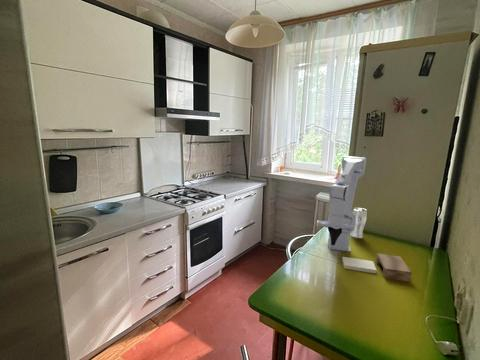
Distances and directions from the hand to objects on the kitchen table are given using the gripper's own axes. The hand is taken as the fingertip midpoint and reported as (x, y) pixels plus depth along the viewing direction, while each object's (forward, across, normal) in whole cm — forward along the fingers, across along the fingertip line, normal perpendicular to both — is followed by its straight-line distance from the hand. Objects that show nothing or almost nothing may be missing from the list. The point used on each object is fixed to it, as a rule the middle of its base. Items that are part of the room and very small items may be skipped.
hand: (332, 244), depth 106 cm
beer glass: (+9, +16, +32) cm, 37 cm away
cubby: (+8, +24, 0) cm, 25 cm away
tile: (+9, +11, 0) cm, 14 cm away
